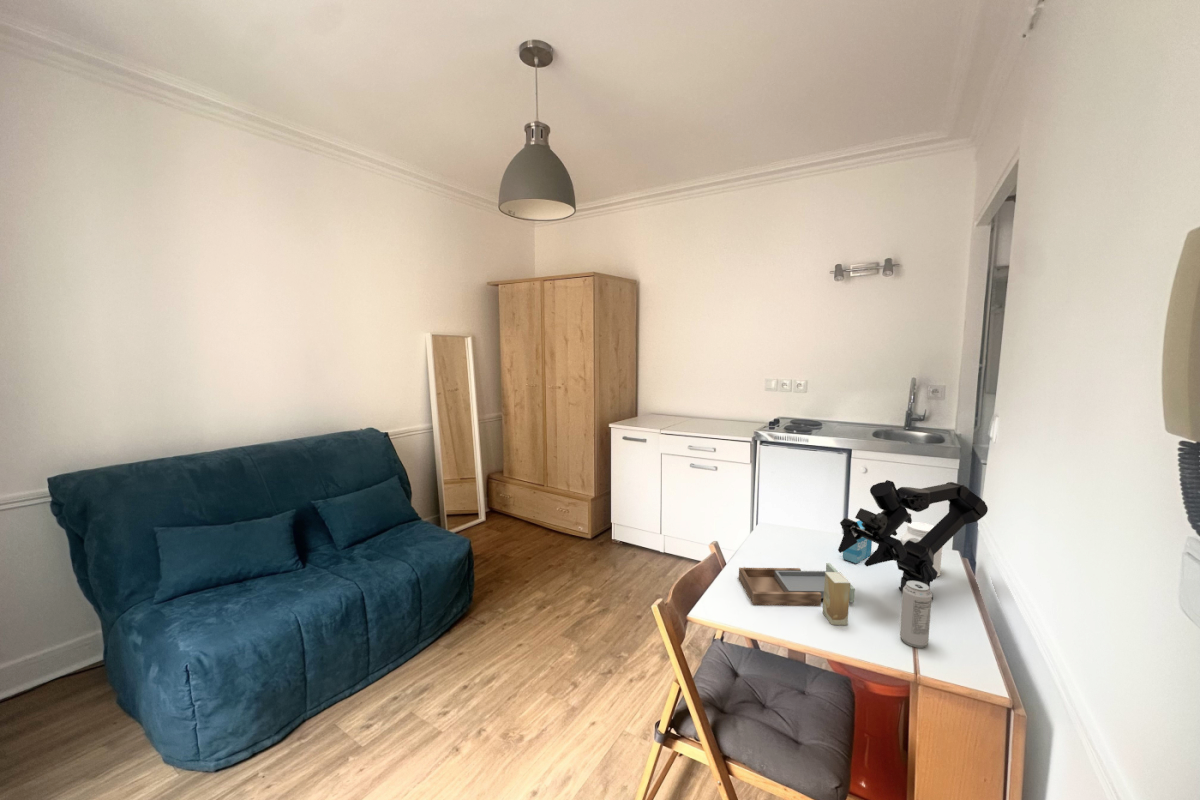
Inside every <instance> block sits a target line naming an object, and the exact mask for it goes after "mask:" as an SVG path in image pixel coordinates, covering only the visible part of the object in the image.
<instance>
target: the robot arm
mask: <svg viewBox="0 0 1200 800" xmlns="http://www.w3.org/2000/svg"><path fill="white" fill-rule="evenodd" d="M869 492H870V495H871V497H872V498H873V500H874V501H875V504H876V505H877V508H878V509H880V510H882V511H881V512H878V513H874V512H872V511H869V510H868V509H864V508H862V507H860V508H859V509H858V511H857V514H856V515H855V517H854V518H855V519H856V520H858V521H861V522H863V523H862V526H863V527H864V528H865V529H864V530H862V529H860V527H859V525H858V523H857V521H855V520H852V519H850V518H847V517H846V518H845V517H844V518H843V519H842V520H840V522H839V524H840V526H841V529H842V530H843V536H842V539H841V541H840V544H839V546H838V549H837V551H838V553H843V551H845V550H847V549H848V548H850V547H851V546H853V545H854V544H856V543H857V540H858V539H860V538H861V537H864V538H866V539H868V540H871V541H872V543H876V544H878V545H877V548H876V550H875V551H874V552H873V553H871V554H870V556H869V557H867V558H866V560H865V562H864V566H865V567H871V566H874V565H877V564H881V563H882V564H883V563H884V562H885V563H887V562H891V561H894V562H896V565H897V569H898V570H899V571H902V576H901V578H900V586H898V589H899V590H900V591H901V592H902V593H903V587H904V586H905V585H906V582H907V581H919V582H922V583H924V584H926V585H928V586H929V590H930V589H931V588H930V587H931V583H933V582H934V580H937V578H938V577H937V574H938V572H937V571H936V570H935V569H934V568H933V564H934V554H935V553H936V552H937V551H938V550H939V549H940V548H941V547H942V546H943V547H944V545H946V544H947V543H948V542H949V541H950V540H951V539H952V537H954V536H955V535H956V534H957V533H958V532H959V531H960V530H961V529H962V528H963V527H964V526H965V525H968V524H969V525H970V524H973V523H977V522H978V521H980V520H981V519H982V518H984V517H985V516H986V515H987V513H988V510H989V509H988V505H987V504H986V502H985V500H983V499H982V498H981V497H980V496H978V495H976V494H975V493H974V492H972V491H971V490H970V489H969V488H968V486H966V485H964V484H961V483H957V482H952V481H949V482H946V483H944V484H943V483H942V484H938V485H933V486H927V487H923V488H922V487H921V488H918V487H911V486H910V487H908V486H901V487H898V488H896V485H895V482H894V481H892V480H888V479H886V481H884V482H878V483H876V484H872V486H871V487H870V490H869ZM945 501H948V502H949V503H948V513H946V515H944V517H943V518H941V519H940V520H939V521H938V522H937V523H936V524H935V525H933V526H934V527H933V528H932V529H931V530H930V531H929V532H928V533H927V534H926V535H925V536H924V537H923V538H922V539H921V540H920V541H919V542H916V543H915V542H912V541H910V540H909V541H907V542H906V543H905V544H904V545H903V544H902V542H901V539H898V538H895V537H896V536H897V535H898V532H897V530H898V529H899V528H900V527H901V526H902V525H903V524H904V523H907V524H908V523H910V524H911V523H912V522H913V520H912V513H909V512H908V510H910V511H914V512H916V513H920V512H922V511H925V510H927V509H928V508H929V507H930V505H932V504H935V503H941V502H945ZM893 536H894V537H893ZM943 547H942V548H943ZM931 600H933V596H932V599H931Z"/></svg>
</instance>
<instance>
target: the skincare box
mask: <svg viewBox="0 0 1200 800" xmlns="http://www.w3.org/2000/svg"><path fill="white" fill-rule="evenodd" d="M850 584H851V582H850V580H849V579H848V578H847V577H845V576H844V574H843V573H841V572H840V571H838V572H825V583H824V598H822V599H823V600H822V603H823V604H822V613H823V615H824V617H825V619H827V620H828V622H829V623H830V624H831V625H832V626H848V620H849V610H850V609H849V608H850V601H849V597H850Z"/></svg>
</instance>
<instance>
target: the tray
mask: <svg viewBox="0 0 1200 800" xmlns="http://www.w3.org/2000/svg"><path fill="white" fill-rule="evenodd" d="M825 564H826V566H825V570H801V571H774V577H775V579H776V580H777V582H778V583H779V585H780V586H781V588H782V589H783V590H784V592H820V593H821V599H823V598H824V583H825V572H839V571H838V570H837V569H836V568H835V567H834V566H833V564H831V563H830V562H826V563H825ZM855 594H856V588H855V587H854V586H853V585H852V584H851V583H850V597H849V603H855V596H856V595H855Z"/></svg>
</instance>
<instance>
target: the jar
mask: <svg viewBox="0 0 1200 800" xmlns="http://www.w3.org/2000/svg"><path fill="white" fill-rule="evenodd" d="M934 526H935V525H932V524H930V523H925V522H919V521H912V523H911V524H910V523H907V527H906V528H907V529H906V530H905V532H904V533H903V534H901V536H900V541H901V542H902V544H903V545H904V544H905V543H906V542H907V541H909V540H910V541H912V542H915V543H916V542H919V541H920V540H921V539H922V538H923V537H924V536H925V535H926V534H927V533H928V532H929V531H930V530H931V529H932V528H933V527H934ZM943 547H944V545H943V546H942V547H941V548H940V549H939V550H938V551H937V552H936V553H935V554H934V564H933V568H934V569H935V570H936V571H937V572H938V574H937V576H939V575H940V576H941V574H940V573H941V572H942V571H941V565H942V554H943V553H942V551H943ZM940 576H939V577H940Z"/></svg>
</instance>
